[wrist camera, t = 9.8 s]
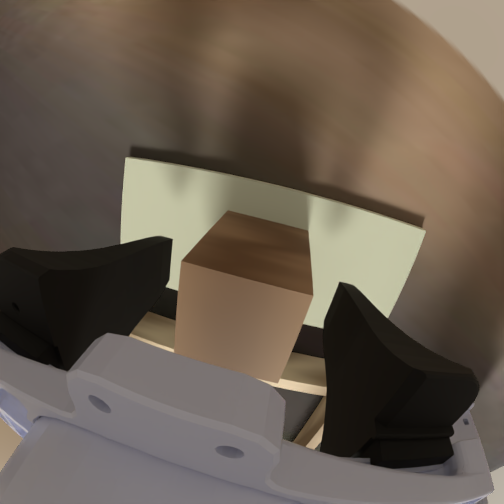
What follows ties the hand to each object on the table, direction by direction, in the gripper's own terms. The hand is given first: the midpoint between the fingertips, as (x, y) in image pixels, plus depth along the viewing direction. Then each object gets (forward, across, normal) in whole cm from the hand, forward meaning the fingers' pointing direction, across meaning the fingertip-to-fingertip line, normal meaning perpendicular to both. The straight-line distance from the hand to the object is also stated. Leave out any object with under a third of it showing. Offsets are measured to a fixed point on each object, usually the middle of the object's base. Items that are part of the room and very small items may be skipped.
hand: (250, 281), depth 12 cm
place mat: (+3, 0, 0) cm, 3 cm away
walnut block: (+3, 0, 0) cm, 3 cm away
